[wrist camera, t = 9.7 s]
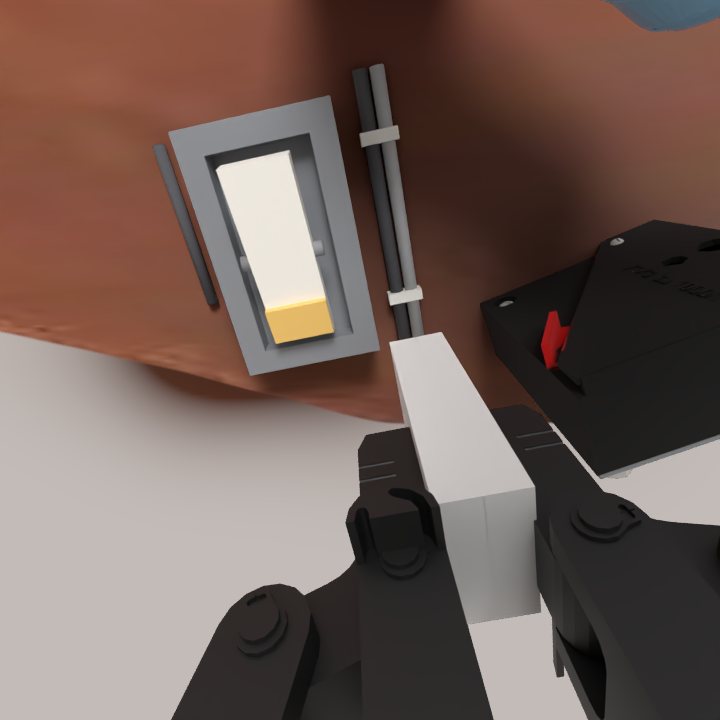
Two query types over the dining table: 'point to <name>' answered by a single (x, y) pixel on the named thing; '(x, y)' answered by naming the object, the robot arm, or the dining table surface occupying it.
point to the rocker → (278, 244)
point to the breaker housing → (325, 217)
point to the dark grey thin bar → (185, 222)
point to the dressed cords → (371, 144)
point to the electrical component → (622, 345)
